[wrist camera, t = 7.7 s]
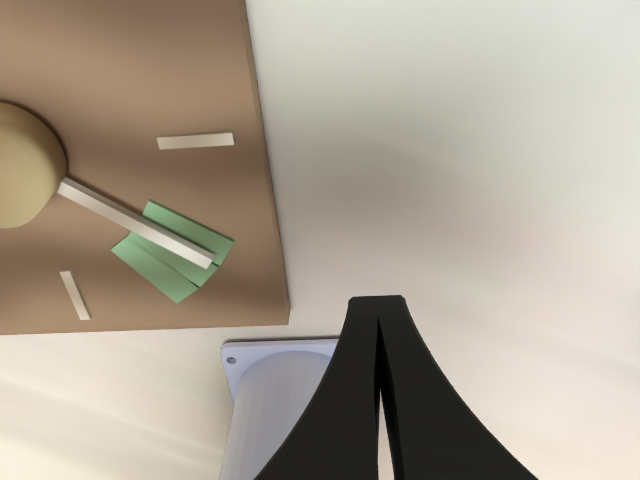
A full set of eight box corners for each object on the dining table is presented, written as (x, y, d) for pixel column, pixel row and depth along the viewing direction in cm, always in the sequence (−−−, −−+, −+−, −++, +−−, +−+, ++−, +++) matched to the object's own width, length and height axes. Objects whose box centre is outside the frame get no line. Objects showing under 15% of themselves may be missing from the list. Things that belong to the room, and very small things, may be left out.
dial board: (290, 308, 28) (288, 327, 26) (-77, 322, 29) (-95, 341, 28) (217, -185, 17) (207, -191, 15) (-370, -122, 18) (-418, -122, 17)
